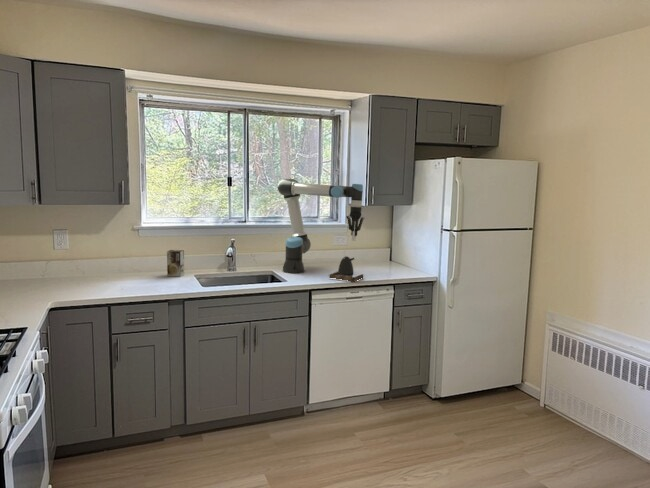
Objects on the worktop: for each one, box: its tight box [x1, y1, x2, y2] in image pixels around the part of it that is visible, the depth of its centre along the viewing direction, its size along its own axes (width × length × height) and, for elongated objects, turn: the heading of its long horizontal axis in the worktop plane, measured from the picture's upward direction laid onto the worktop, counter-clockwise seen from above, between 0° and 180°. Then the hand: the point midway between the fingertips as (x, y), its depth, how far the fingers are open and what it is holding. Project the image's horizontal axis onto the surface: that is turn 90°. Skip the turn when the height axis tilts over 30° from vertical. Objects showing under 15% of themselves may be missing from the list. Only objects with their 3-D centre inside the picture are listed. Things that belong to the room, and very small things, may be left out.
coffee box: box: [166, 249, 185, 277], centre depth 307 cm, size 9×6×16 cm
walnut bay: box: [328, 271, 364, 283], centre depth 316 cm, size 18×14×3 cm
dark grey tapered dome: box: [337, 255, 355, 277], centre depth 314 cm, size 10×10×15 cm
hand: (353, 240), depth 334 cm, fingers closed
